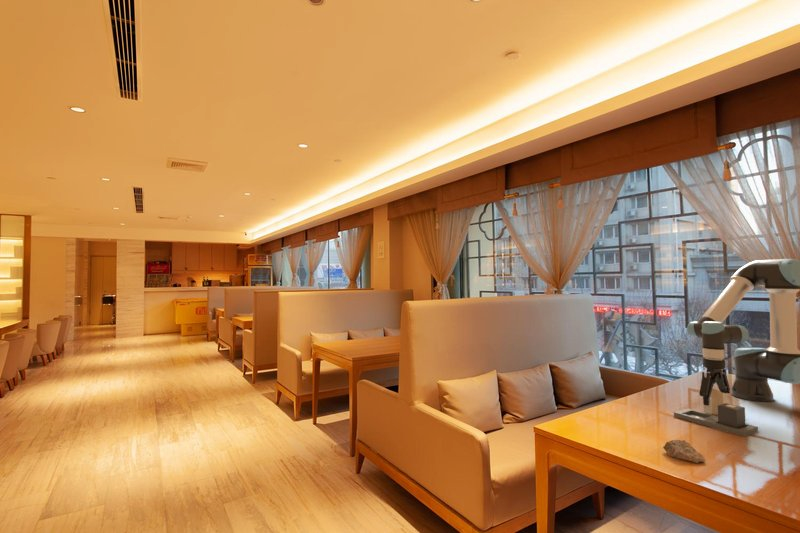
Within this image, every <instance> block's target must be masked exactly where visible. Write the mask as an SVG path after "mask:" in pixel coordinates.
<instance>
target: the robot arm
mask: <svg viewBox="0 0 800 533" xmlns="http://www.w3.org/2000/svg"><path fill="white" fill-rule="evenodd" d="M758 286H764V290H766V291H767V292H768V293H769V336H770V337H769V339H770V342H769V347H767V348H764V347H737V348H736V349H735V350H734V357H733V358H734V374H735V378H734V380H733V384H732V386H731V388H730V383H729V380H728V375H727V370H726V360H725V359H726V348H725V347H726V346H725V344H740V343H744V342H746V341H748V339H749V338H750V337H749V336H750V334H749V330H748V329H747V328H746V327H745V326H743V325H740V324H739V325H738V324H733V325H730V324H724V321H725V320H726V319H727V318H728V317H729V315H730V314H731V313H732V311H733V310H734V309H735V308H736V307H737V306H738V304H739V303H740V302H741V300H743V297H745V295H747V293H748V292H751V291H753V290H754V288H756V287H758ZM799 291H800V260H799V259H795V258H779V259H777V258H775V259H756V260H753V261H750V262H748V263H747V264H745V265H743V266H741V267H740V268H739V269H738V270H736V271H735V272H734V273H733V275H732V276H731V277H730V278H729V283H728V284H727V286H726V287H725V288H724V289H723V290H722V291H721V293H720V294H719V296H718V297H717V298H716V299H715V300H714V301H713V303H712V304H711V305H710V306H709V308H707V310H706V311H705V312H704V314H703V315H702V316H701V318H699V320H698V321H697V320H696V321H695V320H694V321H690V322H689V323H688V325H687V328H686V331H687V333H688V334H689V336H691V337H693V338H696V339H700V340H702V341H701V343H702V349H701V351H702V357H703V358H702V366H703V367H704V368H706V371H702V372H701V381H700V387H699V388H700V389H699V395H698V396H699V397H702V403H703V408H702V410H703V411H702V412H704V413H708V414H711V415H713V414H712V403H711V398H710V395H711V392H712V389H714V385H715V384H716V385H717V389H718V390H719V391H720V392H722V393H723V399H724V403H728V394H731V395H732V396H734V397H736V398H738V399H743V400H748V401H754V402H772V401H774V394H773V392H772V388H771V387H770V385H769V382H768V379H769V380H774V381H778V382H779V381H780V382H783V383H785V384H787V383H788V384H793V385H794V384H795V385H798V384H800V350H799V348H798V331H797V320H798V319H797V294H798V292H799Z"/></svg>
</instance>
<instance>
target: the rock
mask: <svg viewBox="0 0 800 533" xmlns="http://www.w3.org/2000/svg"><path fill="white" fill-rule="evenodd" d="M662 448H663V449H664V451H665V452H666V454H667V456H669V457H671V458H676V459H679V460H684V461H690V462H692V463H695V464H696V463H697V464H698V463H700V462H702V463H704V462H706V458H705V456H704V455H703V454H702V453H701V452H699V451H697V450H696V448H694V447H693V446H692V444H691V443H689V442H687V441H686V440H685V439H684V440H680V439H674V440H673V439H672V440H670V441H666V442H665V444H664V445H663V447H662Z"/></svg>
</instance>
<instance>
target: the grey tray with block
mask: <svg viewBox="0 0 800 533" xmlns="http://www.w3.org/2000/svg"><path fill="white" fill-rule="evenodd" d="M673 417H674V418H677V419H681V420H685V421H687V422H692V423H695V424H698V425H702V426H705V427H708V428H713V429H717V430H720V431H723V432H726V433H731V434H733V435H736V436H741V437H747V436H750V435H753V434H755V433H758V432H759V426H758V425H753V424H749V423H746V408H745V407H744V406H740V405H737V404H732V403H728V402H727V403H724V404H721V405H718V415H713V414H709V413H705V412H703V411H700V410H695V409H691V408H689V407H688V408H684V409H680V410H677V411H674V412H673Z"/></svg>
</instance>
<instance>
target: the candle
mask: <svg viewBox="0 0 800 533" xmlns="http://www.w3.org/2000/svg"><path fill="white" fill-rule="evenodd" d="M710 398H711V403H712V414H711V415H715V416H718V405H721V404H724V399H723V393H722V392H720V390H719V389H716V388H712V392H711V395H710Z"/></svg>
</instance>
